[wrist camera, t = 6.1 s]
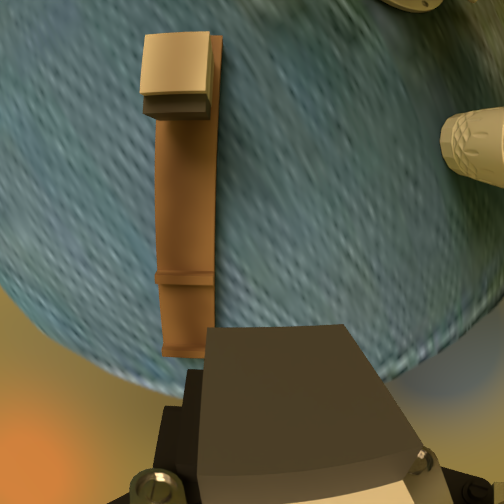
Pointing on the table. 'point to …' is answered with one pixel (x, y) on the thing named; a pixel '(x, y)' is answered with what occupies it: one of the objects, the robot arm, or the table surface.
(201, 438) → the cream brown block
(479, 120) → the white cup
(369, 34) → the table surface
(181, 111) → the rail
